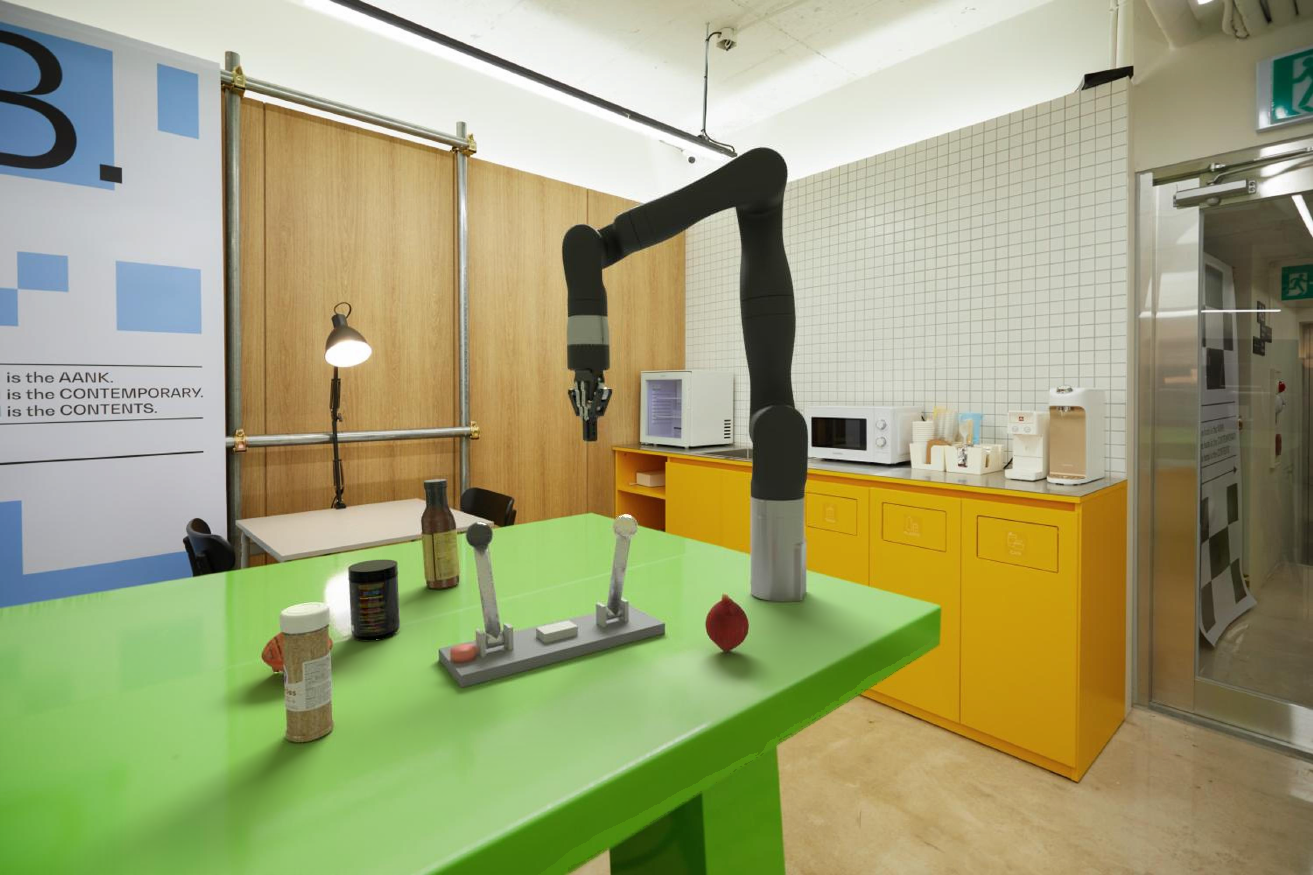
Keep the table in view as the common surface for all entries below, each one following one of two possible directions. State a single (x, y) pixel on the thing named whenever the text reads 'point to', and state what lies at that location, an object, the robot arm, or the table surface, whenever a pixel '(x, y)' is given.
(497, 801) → the table surface
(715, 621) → the onion
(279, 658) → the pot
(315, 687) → the sprinkles bottle
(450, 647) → the switch panel
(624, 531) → the metal lever
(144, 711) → the table surface
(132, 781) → the table surface
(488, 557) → the silver metal rod
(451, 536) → the sauce bottle
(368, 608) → the supplement container
